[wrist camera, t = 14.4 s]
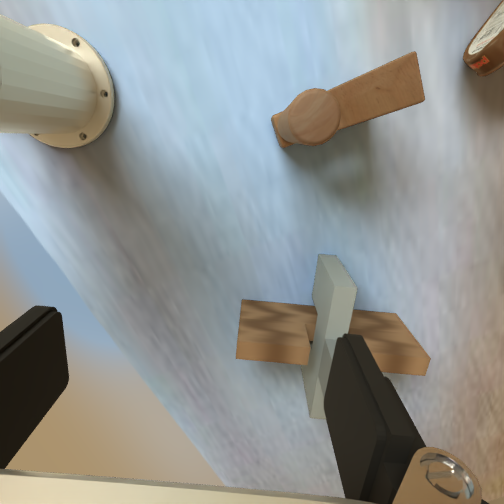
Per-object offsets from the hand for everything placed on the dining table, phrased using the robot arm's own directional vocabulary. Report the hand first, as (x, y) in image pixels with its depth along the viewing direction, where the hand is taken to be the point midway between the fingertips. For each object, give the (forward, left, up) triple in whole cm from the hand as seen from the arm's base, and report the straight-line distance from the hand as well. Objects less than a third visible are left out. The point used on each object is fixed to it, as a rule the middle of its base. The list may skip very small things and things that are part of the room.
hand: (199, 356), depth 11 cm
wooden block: (+8, +10, -32) cm, 35 cm away
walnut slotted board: (+12, -16, -32) cm, 38 cm away
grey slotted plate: (+12, -16, -32) cm, 38 cm away
